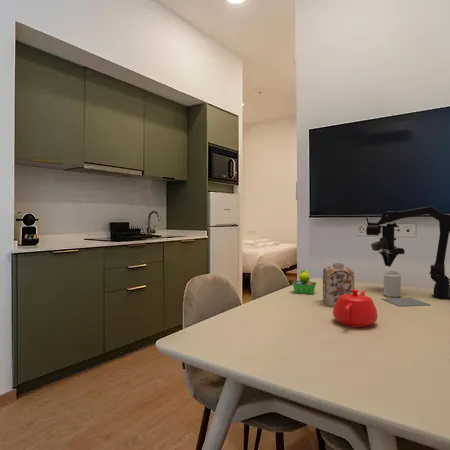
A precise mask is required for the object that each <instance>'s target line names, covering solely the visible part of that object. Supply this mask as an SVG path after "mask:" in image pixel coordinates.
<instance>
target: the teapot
mask: <svg viewBox="0 0 450 450" xmlns="http://www.w3.org/2000/svg"><path fill="white" fill-rule="evenodd" d="M351 291H352V292H353V294H343V295H340V296H339V298H338V299H337V302H336V303H335V306H333V310H332V316H333V318H335V320H336V321H337V322H339V323H341V324H342V325H344V324H345V325H344V326H347V325H348V327H351V326H353V328H366V326H367V327H368V326H372V325H373V324H374V323H376V322H377V320H378V309H377V307H376V305H375V303H374V301H373V299H372V297H370V296H368V295H365V294H366V291H365V290H361V292H360V294H358V293H359V291H360V290H359V289H355V288H354V289H352V290H351Z"/></svg>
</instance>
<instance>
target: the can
mask: <svg viewBox="0 0 450 450" xmlns="http://www.w3.org/2000/svg"><path fill="white" fill-rule="evenodd" d="M401 282H402V276H401V274H400V272H399V271H395V270H386V271H385V272H384V274H383V295H384V296H385V297H387V298H400V297H401V295H402V293H401V291H402V290H401V289H402V287H401V286H402V285H401V284H402V283H401Z"/></svg>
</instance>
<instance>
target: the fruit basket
mask: <svg viewBox="0 0 450 450" xmlns="http://www.w3.org/2000/svg"><path fill="white" fill-rule="evenodd" d="M298 277H299V280H295V281H293V282H292V286H293V290H294V294H301V295H303V294H304V295H314V292H315V287H316V285H317V282H316V281H310V278H311V277H310V274H309V272H308V270H307V269H302V270H301V272H300V274H299V276H298Z"/></svg>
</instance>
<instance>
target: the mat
mask: <svg viewBox="0 0 450 450" xmlns="http://www.w3.org/2000/svg"><path fill="white" fill-rule="evenodd" d="M381 300H382V301H384V302H387V303H390V304H391V305H394V306H397V307H416V306H417V307H421V306H431V305H432V304H430V303H427V302H424V301H422V300H418V299H417V298H414V297H398V298H391V297H387V298H381Z"/></svg>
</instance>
